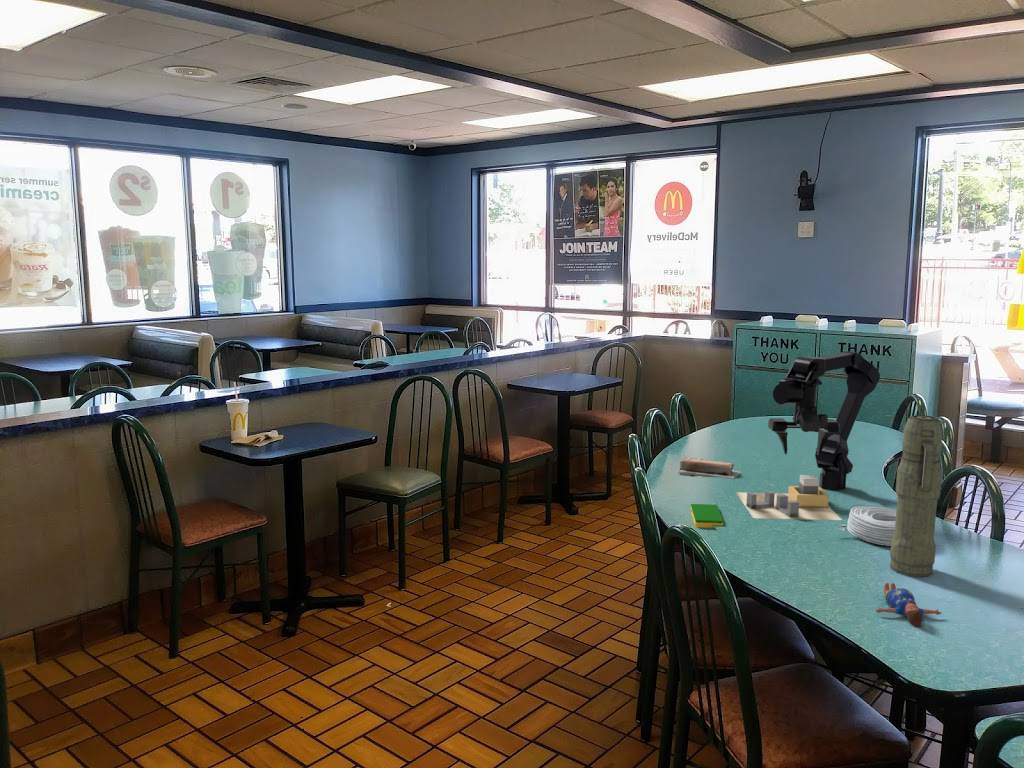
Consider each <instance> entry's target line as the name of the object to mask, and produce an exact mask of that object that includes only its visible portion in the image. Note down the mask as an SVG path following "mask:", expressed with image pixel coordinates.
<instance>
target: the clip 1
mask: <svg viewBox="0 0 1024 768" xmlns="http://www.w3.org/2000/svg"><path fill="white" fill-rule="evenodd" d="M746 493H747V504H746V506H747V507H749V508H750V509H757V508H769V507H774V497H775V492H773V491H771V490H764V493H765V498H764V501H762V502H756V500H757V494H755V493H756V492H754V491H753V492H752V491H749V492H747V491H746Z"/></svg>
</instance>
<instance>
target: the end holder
mask: <svg viewBox="0 0 1024 768" xmlns="http://www.w3.org/2000/svg"><path fill="white" fill-rule="evenodd" d="M787 492H788V499H789V500H790V501H798V502H799V508H828V506H829V499H830V495H828V494H827V492H825V490H824V489H822V488H821V487H820V486H818V494H799V485H795V486H794V485H791V486H789V485H788V491H787Z"/></svg>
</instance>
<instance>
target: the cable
mask: <svg viewBox="0 0 1024 768" xmlns="http://www.w3.org/2000/svg"><path fill="white" fill-rule="evenodd" d="M895 522H896V509H894V508H889V507H879V506H863V505H861V506H859V505H858V506H854V507H852V508H851V509H850V512H849V515H848V520H847V524H840V525H839V527H837V530H841V531H844V532H846V531H848V533H850V534H851V535H853V536H854V537H857V538H856V539H858V538H859V539H858V540H861V539H862V541H865V542H868V543H870V544H875V545H880V546H884V545H885V546H884V547H889V546H891V538H892V536H893V534H894V532H895ZM841 527H843V528H841ZM845 527H846V528H845Z"/></svg>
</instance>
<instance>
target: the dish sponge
mask: <svg viewBox="0 0 1024 768" xmlns="http://www.w3.org/2000/svg"><path fill="white" fill-rule="evenodd" d="M690 513H691V517H692V520H693V521H692V522H693V524H694V527H695V528H702V529H703V528H705V529H717V527H716V526H724V518H723V516H722V514H721V512H720V509H719V506H718V505H717V504H708V503H707V504H705V503H703V504H702V503H690Z"/></svg>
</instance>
